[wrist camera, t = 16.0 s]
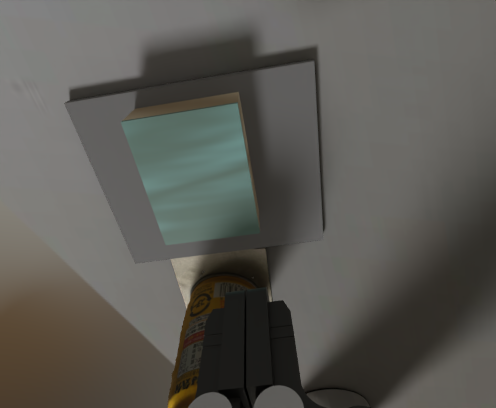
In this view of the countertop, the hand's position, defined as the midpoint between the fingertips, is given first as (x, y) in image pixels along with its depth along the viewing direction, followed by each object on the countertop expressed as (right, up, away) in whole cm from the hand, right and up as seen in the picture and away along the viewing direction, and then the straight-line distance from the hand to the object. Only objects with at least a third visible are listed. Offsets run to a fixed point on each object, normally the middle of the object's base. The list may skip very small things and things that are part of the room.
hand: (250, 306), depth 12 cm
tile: (-4, +9, +5) cm, 11 cm away
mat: (-2, +6, +10) cm, 11 cm away
